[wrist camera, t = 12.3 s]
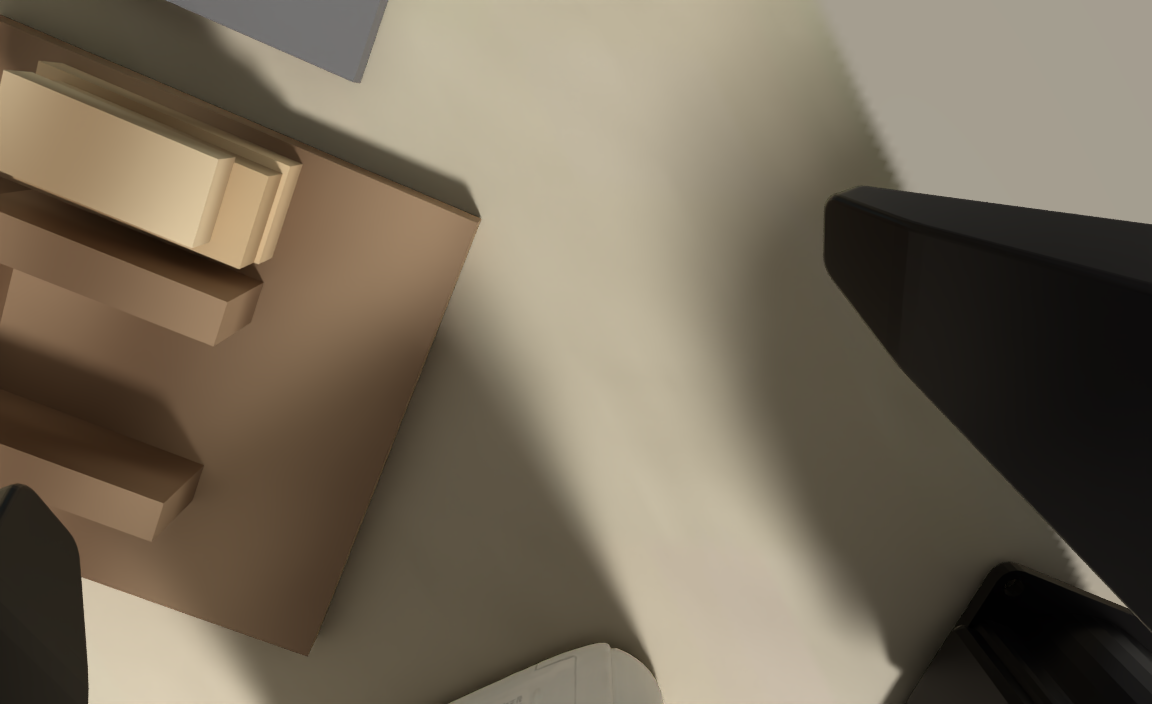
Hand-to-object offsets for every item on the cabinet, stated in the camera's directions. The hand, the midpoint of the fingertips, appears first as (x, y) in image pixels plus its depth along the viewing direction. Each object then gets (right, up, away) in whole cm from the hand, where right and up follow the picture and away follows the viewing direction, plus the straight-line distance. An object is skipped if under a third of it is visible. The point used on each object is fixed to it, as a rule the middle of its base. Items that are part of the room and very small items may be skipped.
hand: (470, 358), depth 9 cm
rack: (-8, 0, +11) cm, 14 cm away
